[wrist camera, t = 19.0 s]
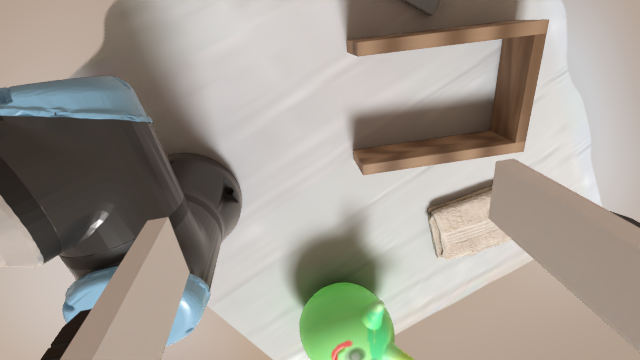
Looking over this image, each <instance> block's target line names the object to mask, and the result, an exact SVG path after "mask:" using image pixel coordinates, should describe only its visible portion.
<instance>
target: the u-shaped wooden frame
mask: <svg viewBox="0 0 640 360" xmlns="http://www.w3.org/2000/svg"><path fill="white" fill-rule="evenodd" d="M548 23H549V20H513V21H505V22H496V23H488V24H479V25H471V26H463V27H454V28H446V29H437V30H429V31H420V32H412V33H403V34H395V35H386V36H378V37H370V38H361V39H353V40H347V52H348V53H350V54H353V55H356V56H365V55H373V54H381V53H390V52H398V51H406V50H414V49H422V48H431V47H439V46H447V45H455V44H463V43H472V42H480V41H488V40H496V39H503V41H502V49H501V56H500V63H499V70H498V77H497V84H496V91H495V98H494V106H493V113H492V120H491V127H490V131H483V132H476V133H469V134H462V135H455V136H448V137H441V138H434V139H427V140H420V141H413V142H406V143H398V144H391V145H384V146H377V147H370V148H363V149H356V150H353V154H354V160H355V162H356V164H357V165H358V167H359V169H360V170H361V172H362V174H363V175H368V174H375V173H381V172H388V171H395V170H402V169H408V168H415V167H422V166H429V165H435V164H442V163H449V162H456V161H462V160H469V159H476V158H483V157H489V156H496V155H503V154H510V153H516V152H523V151H524V146H525V141H526V136H527V131H528V126H529V121H530V116H531V110H532V105H533V100H534V95H535V90H536V85H537V80H538V75H539V69H540V64H541V59H542V54H543V49H544V44H545V39H546V33H547V28H548Z"/></svg>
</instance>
